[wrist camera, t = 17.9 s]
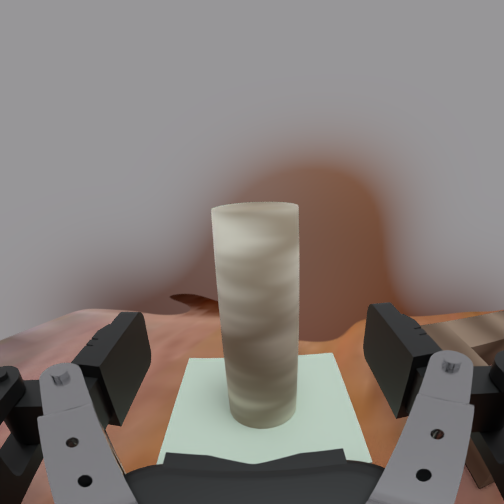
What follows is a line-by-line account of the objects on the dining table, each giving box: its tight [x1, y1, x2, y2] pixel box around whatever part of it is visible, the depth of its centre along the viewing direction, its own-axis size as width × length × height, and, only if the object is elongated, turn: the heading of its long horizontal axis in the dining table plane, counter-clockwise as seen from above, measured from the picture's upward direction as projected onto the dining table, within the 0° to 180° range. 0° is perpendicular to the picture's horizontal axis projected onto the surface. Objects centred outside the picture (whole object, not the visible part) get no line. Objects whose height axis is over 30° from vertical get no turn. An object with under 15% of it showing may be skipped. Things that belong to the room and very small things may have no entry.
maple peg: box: [211, 202, 299, 429], centre depth 18 cm, size 4×4×13 cm
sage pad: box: [156, 353, 372, 465], centre depth 20 cm, size 12×12×1 cm
